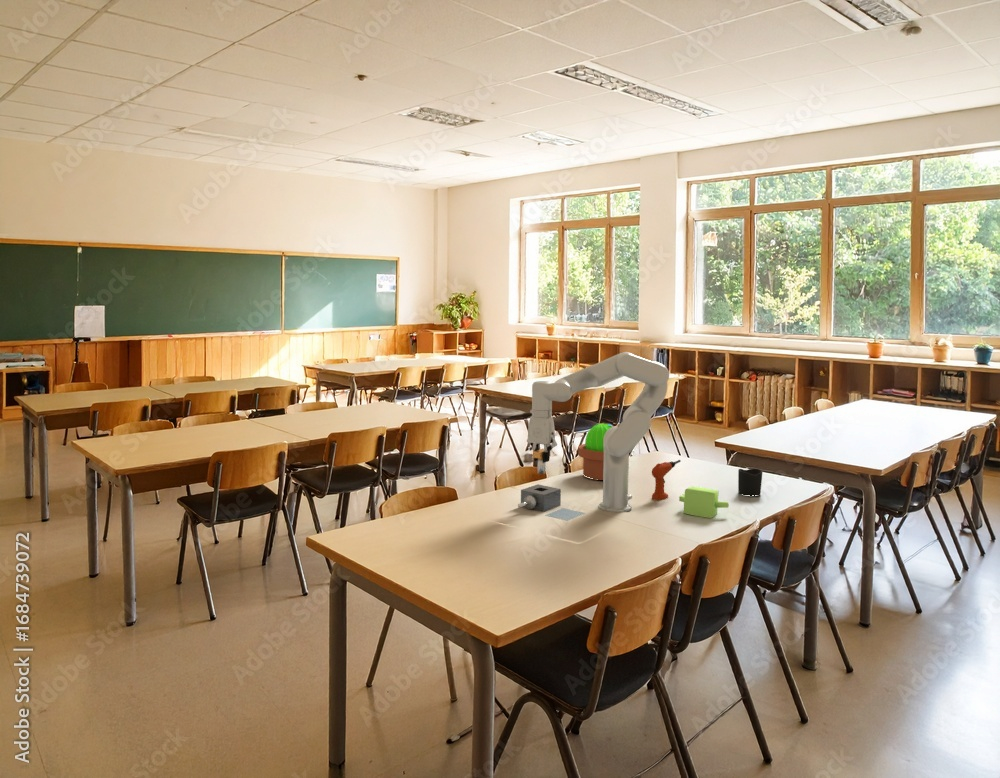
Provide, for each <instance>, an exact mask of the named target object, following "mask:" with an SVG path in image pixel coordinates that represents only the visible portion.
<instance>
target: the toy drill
mask: <svg viewBox="0 0 1000 778" xmlns="http://www.w3.org/2000/svg"><path fill="white" fill-rule="evenodd" d="M680 462H682V460H681V459H678V460H676V461H669V462H668V461H667V462H666V461H665V462H662V463H657V464H656V465H655V466H654V467H652V470H651V475H652V477H653V478H654V480H655V488H654V492H653V493H652V495H651V500H654V499H655V500H654V501H663V500H667V499H668V498H669V495H668V493H666V492H665V483H666V480H665V478H664V477H665V476H666V475H667V474H668V473H669V472H670V471H671V470H672V469H673V468H675V467H676V465H677V464H679V463H680ZM666 498H667V499H666ZM662 499H663V500H662Z"/></svg>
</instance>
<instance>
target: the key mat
mask: <svg viewBox="0 0 1000 778" xmlns="http://www.w3.org/2000/svg"><path fill="white" fill-rule="evenodd" d="M585 514H586V512H581V511H578V510H574V509H573V510H572V509H568V508H560V509H557V510H555V511H551V512H550V513H547V514H545V516H546V517H550V518H554V519H559V520H563V521H570V520H573V519H574V518H578V517H579V516H582V515H585Z"/></svg>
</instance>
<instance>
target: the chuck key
mask: <svg viewBox="0 0 1000 778" xmlns="http://www.w3.org/2000/svg"><path fill="white" fill-rule="evenodd" d="M543 452H545V451H544V448H539V450H536V451H534V450H532V458H533V459H534V458H538V460H537V474H539V475H542V474H543V475H544V474H546V462H543Z"/></svg>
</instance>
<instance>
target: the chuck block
mask: <svg viewBox="0 0 1000 778" xmlns="http://www.w3.org/2000/svg"><path fill="white" fill-rule="evenodd" d="M561 495H562V489H561V488H557V487H553V486H549V485H543V484H539V483H538V484H535V485H531V486H529V487H525V488H522V489H520V503H518V504H517V507H518V508H519V509H520V508H525V509H526V508H527V509H528V510H535V511H539V512H543V513H544V512H547V511H550V510H552V509H554V508H557V507H560V506H561V504H562V503H561V502H562V501H561V499H562V498H561V497H562V496H561Z"/></svg>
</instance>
